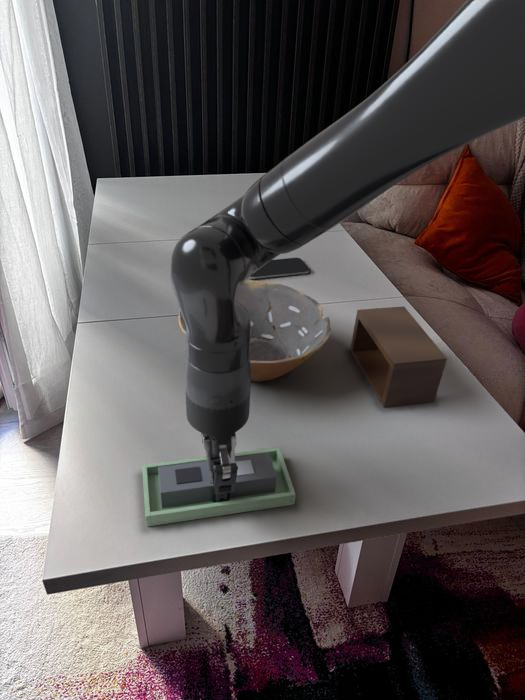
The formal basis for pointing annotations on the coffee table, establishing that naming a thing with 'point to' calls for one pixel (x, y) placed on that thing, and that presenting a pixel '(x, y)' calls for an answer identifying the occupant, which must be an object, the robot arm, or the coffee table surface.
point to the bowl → (280, 327)
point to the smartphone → (281, 268)
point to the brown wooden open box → (396, 356)
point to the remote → (194, 479)
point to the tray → (209, 509)
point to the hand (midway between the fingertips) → (217, 484)
